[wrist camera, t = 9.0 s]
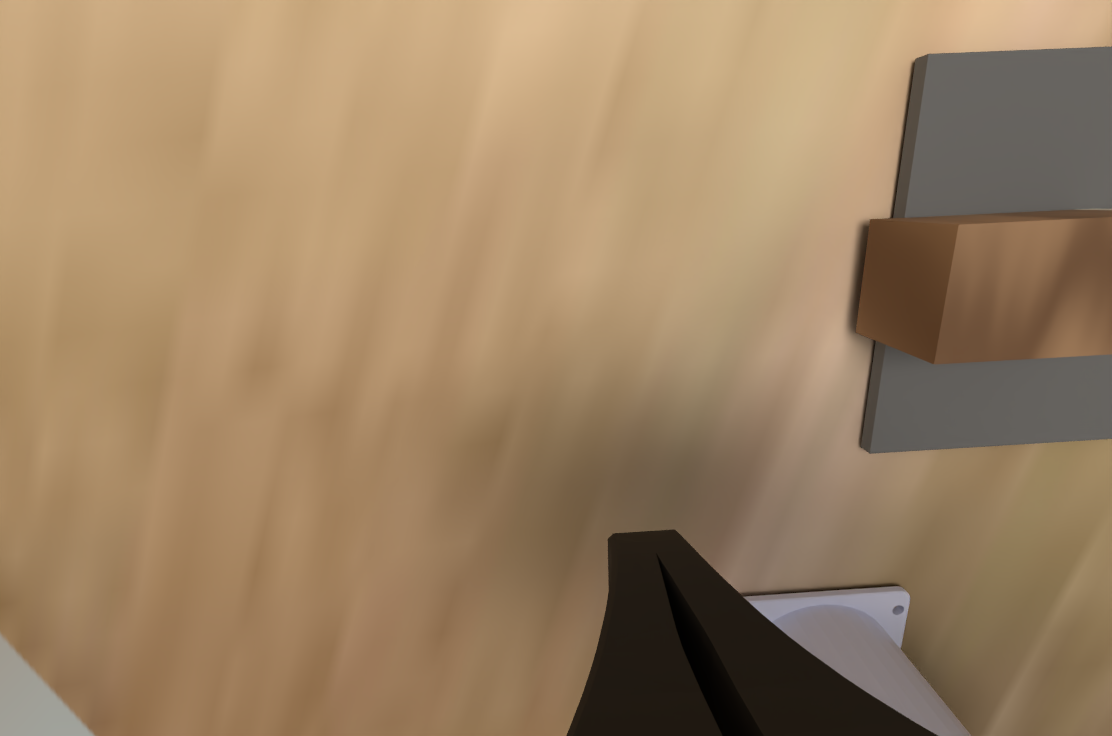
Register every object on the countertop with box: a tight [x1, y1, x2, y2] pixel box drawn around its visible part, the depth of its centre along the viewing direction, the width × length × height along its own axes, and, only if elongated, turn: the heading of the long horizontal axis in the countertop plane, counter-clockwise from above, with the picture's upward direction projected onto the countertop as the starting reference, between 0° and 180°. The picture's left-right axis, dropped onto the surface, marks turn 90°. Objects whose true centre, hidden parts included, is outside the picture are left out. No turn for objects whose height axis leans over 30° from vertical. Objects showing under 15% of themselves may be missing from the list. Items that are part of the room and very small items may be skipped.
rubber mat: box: [861, 47, 1112, 454], centre depth 20 cm, size 14×16×1 cm
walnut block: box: [856, 208, 1112, 364], centre depth 17 cm, size 4×4×8 cm
